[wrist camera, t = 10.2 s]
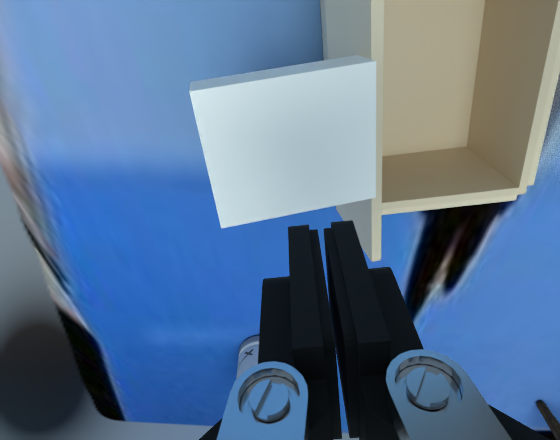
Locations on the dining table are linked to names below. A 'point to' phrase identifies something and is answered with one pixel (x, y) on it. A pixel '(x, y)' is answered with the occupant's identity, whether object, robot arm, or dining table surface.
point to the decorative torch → (549, 419)
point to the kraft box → (464, 99)
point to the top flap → (302, 130)
